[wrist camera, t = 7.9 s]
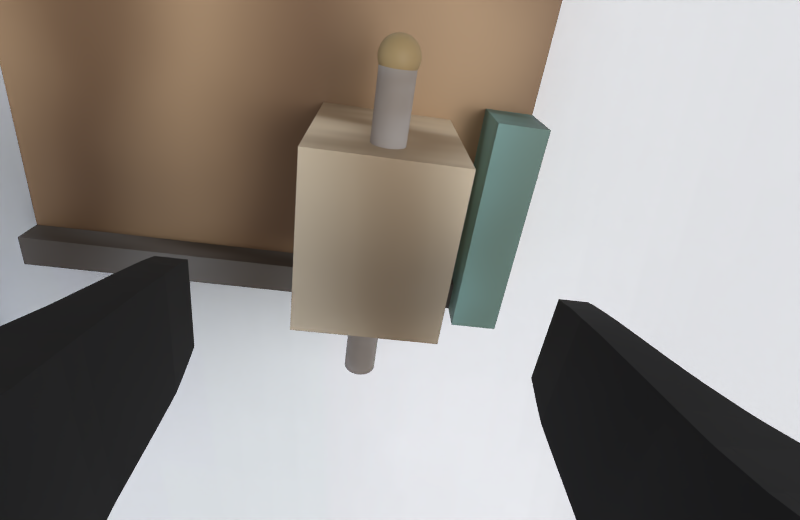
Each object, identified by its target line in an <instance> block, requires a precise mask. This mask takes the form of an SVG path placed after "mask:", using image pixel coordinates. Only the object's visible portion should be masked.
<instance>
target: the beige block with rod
mask: <svg viewBox="0 0 800 520" xmlns="http://www.w3.org/2000/svg"><path fill="white" fill-rule="evenodd" d="M377 58H378V63H379V65H378V74H377V83H376V92H375V100H374V109H369V108H361V107H354V106H347V105H340V104H333V103H326V102H323V104H322V106H321V108H320V109H319V111H318V113H317V114H316V116H315V118H314V120H313V121H312V123H311V125H310V127H309V128H308V130H307V132H306V133H305V135H304V137H303V139H302V140H301V142H300V144H299V146H298V159H297V182H296V206H295V229H294V252H293V275H292V299H291V322H290V330H298V331H309V332H319V333H329V334H339V335H348V340H347V349H346V358H345V367H346V368H347V370H349V371H350V372H352V373H354V374H367V373H369V372H370V371H372V369H373V367H374V361H375V354H376V347H377V340H378V338H380V339H391V340H401V341H411V342H421V343H432V344H437V343H438V338H439V334H440V329H441V325H442V320H443V316H444V311H445V307H446V302H447V298H448V293H449V289H450V284H451V280H452V275H453V271H454V266H455V262H456V257H457V252H458V248H459V243H460V239H461V234H462V230H463V225H464V221H465V216H466V212H467V207H468V203H469V198H470V194H471V189H472V185H473V180H474V176H475V171H476V169H475V167H474V165H473V163H472V161H471V159H470V157H469V155H468V153H467V151H466V149H465V147H464V145H463V143H462V141H461V140H460V138H459V136H458V134H457V132H456V130H455V128H454V126H453V124H452V122H451V120H448V119H441V118H433V117H426V116H419V115H412V114H411V112H412V105H413V98H414V92H415V85H416V78H417V72H418V69H419V67H420V64H421V60H422V53H421V48H420V46H419V44H418V42H417V41H416V39H415V38H414V37H412V36H411V35H409V34H407V33H403V32H396V33H392V34H390V35H388V36H387V37H386V38H385V39H384V40H383V41H382V42H381V44H380V46H379V49H378V55H377Z"/></svg>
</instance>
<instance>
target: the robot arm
mask: <svg viewBox="0 0 800 520" xmlns="http://www.w3.org/2000/svg"><path fill="white" fill-rule="evenodd" d="M193 348H194V336H193V322H192V309H191V295H190V281H189V267H188V259H179V258H170V257H161V256H153V257H150V258H147V259H145V260H142V261H140V262H138V263H135V264H133V265H131V266H129V267H127V268H125V269H123V270H120V271H118V272H116V273H114V274H112V275H110V276H108V277H106V278H104V279H102V280H100V281H98V282H96V283H94V284H92V285H90V286H88V287H85V288H83V289H81V290H79V291H77V292H75V293H73V294H71V295H69V296H67V297H65V298H63V299H61V300H58V301H56V302H54V303H52V304H50V305H48V306H46V307H43V308H41V309H39V310H36V311H34V312H32V313H30V314H27V315H25V316H23V317H20V318H18V319H16V320H14V321H11V322H9V323H7V324H5V325H2V326H0V520H107V518H108V516H109V514H110V512H111V510H112V508H113V506H114V504H115V502H116V501H117V499H118V497H119V495H120V493H121V492H122V490H123V488H124V486H125V484H126V483H127V481H128V479H129V477H130V476H131V474H132V472H133V470H134V468H135V467H136V465H137V463H138V461H139V459H140V458H141V456H142V454H143V452H144V451H145V449H146V447H147V445H148V443H149V442H150V440H151V438H152V436H153V434H154V433H155V431H156V429H157V427H158V425H159V424H160V422H161V420H162V418H163V416H164V415H165V413H166V411H167V409H168V407H169V405H170V404H171V402H172V400H173V398H174V396H175V394H176V392H177V390H178V387H179V385H180V382H181V380H182V378H183V375H184V373H185V370H186V367H187V365H188V362H189V359H190V357H191V354H192V351H193ZM531 378H532V383H533V388H534V393H535V398H536V403H537V407H538V412H539V416H540V420H541V424H542V427H543V430H544V433H545V436H546V438H547V441H548V444H549V447H550V449H551V452H552V455H553V458H554V461H555V463H556V466H557V469H558V471H559V474H560V477H561V479H562V482H563V485H564V488H565V490H566V493H567V496H568V498H569V501H570V504H571V506H572V509H573V512H574V515H575V517H576V520H800V443H799V442H797V441H795V440H794V439H792V438H790V437H789V436H787V435H785V434H783V433H782V432H780V431H778V430H777V429H775V428H773V427H771V426H770V425H768V424H766V423H765V422H763V421H761V420H760V419H758V418H756V417H755V416H753V415H752V414H750V413H748V412H747V411H745V410H744V409H742V408H741V407H739V406H737V405H736V404H734V403H733V402H731V401H730V400H728V399H727V398H725V397H724V396H722V395H721V394H719V393H718V392H716V391H715V390H713V389H712V388H710V387H709V386H707V385H706V384H704V383H703V382H701V381H700V380H699V379H697V378H696V377H694V376H693V375H691V374H690V373H688V372H687V371H686V370H684V369H683V368H681V367H680V366H679V365H677V364H676V363H674V362H673V361H672V360H670V359H669V358H667V357H666V356H665V355H663V354H662V353H660V352H659V351H658V350H656V349H655V348H654V347H652V346H651V345H649V344H648V343H647V342H645V341H644V340H643V339H641V338H640V337H639V336H637V335H636V334H634V333H633V332H632V331H630V330H629V329H628V328H626V327H625V326H623V325H622V324H621V323H619V322H618V321H616V320H615V319H613V318H612V317H611V316H609V315H608V314H606V313H605V312H603V311H602V310H600V309H599V308H597V307H595V306H593V305H592V304H590V303H588V302H579V301H570V300H561V299H559V300H558V303H557V306H556V309H555V312H554V314H553V317H552V320H551V323H550V326H549V329H548V332H547V335H546V337H545V340H544V343H543V346H542V349H541V352H540V355H539V357H538V360H537V363H536V366H535V369H534V372H533V375H532V377H531Z"/></svg>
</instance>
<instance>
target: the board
mask: <svg viewBox="0 0 800 520" xmlns="http://www.w3.org/2000/svg"><path fill="white" fill-rule="evenodd" d="M561 4H562V0H0V65H1V70H2V74H3V78H4V83H5V87H6V91H7V96H8V100H9V105H10V109H11V113H12V118H13V122H14V126H15V131H16V135H17V139H18V144H19V148H20V152H21V157H22V161H23V166H24V170H25V174H26V179H27V183H28V187H29V192H30V196H31V200H32V205H33V209H34V213H35V218H36V222H37V225H36V226H34V227H33V228H31V229H30V230H28V231H27V232H25V233H24V234H22V235H20V236H19V237H18V240H19V244H20V248H21V252H22V256H23V260H24V264H31V265H40V266H50V267H59V268H69V269H78V270H88V271H98V272H107V273H116V272H118V271H120V270H123V269H125V268H127V267H129V266H131V265H133V264H135V263H138V262H140V261H142V260H145V259H147V258H150V257H153V256H161V257H170V258H179V259H188V267H189V281H193V282H203V283H212V284H222V285H232V286H241V287H251V288H260V289H270V290H279V291H289V292H292V275H293V252H294V229H295V206H296V182H297V159H298V146H299V144H300V142H301V140H302V139H303V137H304V135H305V133H306V132H307V130H308V128H309V127H310V125H311V123H312V121H313V120H314V118H315V116H316V114H317V113H318V111H319V109H320V108H321V106H322V104H323V102H326V103H333V104H340V105H347V106H354V107H361V108H369V109H374V100H375V92H376V83H377V74H378V65H379V63H378V58H377V55H378V49H379V46H380V44H381V42H382V41H383V40H384V39H385V38H386V37H387V36H388V35H390V34H392V33H396V32H403V33H407V34H409V35H411V36H412V37H414V38H415V39H416V41H417V42H418V44H419V46H420V48H421V53H422V60H421V64H420V67H419V69H418V72H417V78H416V85H415V92H414V98H413V105H412V112H411V114H412V115H419V116H426V117H433V118H441V119H448V120H451V122H452V124H453V126H454V128H455V130H456V132H457V134H458V136H459V138H460V140H461V141H462V143H463V145H464V147H465V149H466V151H467V153H468V155H469V157H470V159H471V161H472V163H473V165H474V167H475V169H476V171H475V176H474V180H473V185H472V189H471V194H470V198H469V203H468V207H467V212H466V216H465V221H464V225H463V230H462V234H461V239H460V243H459V248H458V252H457V257H456V262H455V266H454V271H453V275H452V280H451V284H450V289H449V293H448V298H447V302H446V307H445V308H449V313H450V318H451V323H452V325H461V326H471V327H481V328H491V329H494V328H495V324H496V321H497V317H498V314H499V310H500V307H501V303H502V300H503V296H504V293H505V289H506V286H507V282H508V279H509V275H510V272H511V268H512V265H513V261H514V258H515V254H516V251H517V247H518V244H519V240H520V237H521V233H522V230H523V226H524V223H525V219H526V216H527V212H528V209H529V205H530V202H531V198H532V195H533V191H534V188H535V184H536V181H537V177H538V174H539V170H540V167H541V163H542V160H543V156H544V153H545V149H546V146H547V142H548V139H549V135H550V132H551V130H550V129H548V128H547V127H546V126H545V125H543V124H542V123H541V122H540V121H539V120H537V119H536V118H535V117H534V116H533V115H532V114H533V110H534V106H535V102H536V98H537V95H538V91H539V87H540V83H541V79H542V76H543V72H544V68H545V64H546V60H547V57H548V53H549V49H550V45H551V41H552V38H553V34H554V30H555V26H556V22H557V19H558V15H559V11H560V7H561Z"/></svg>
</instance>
